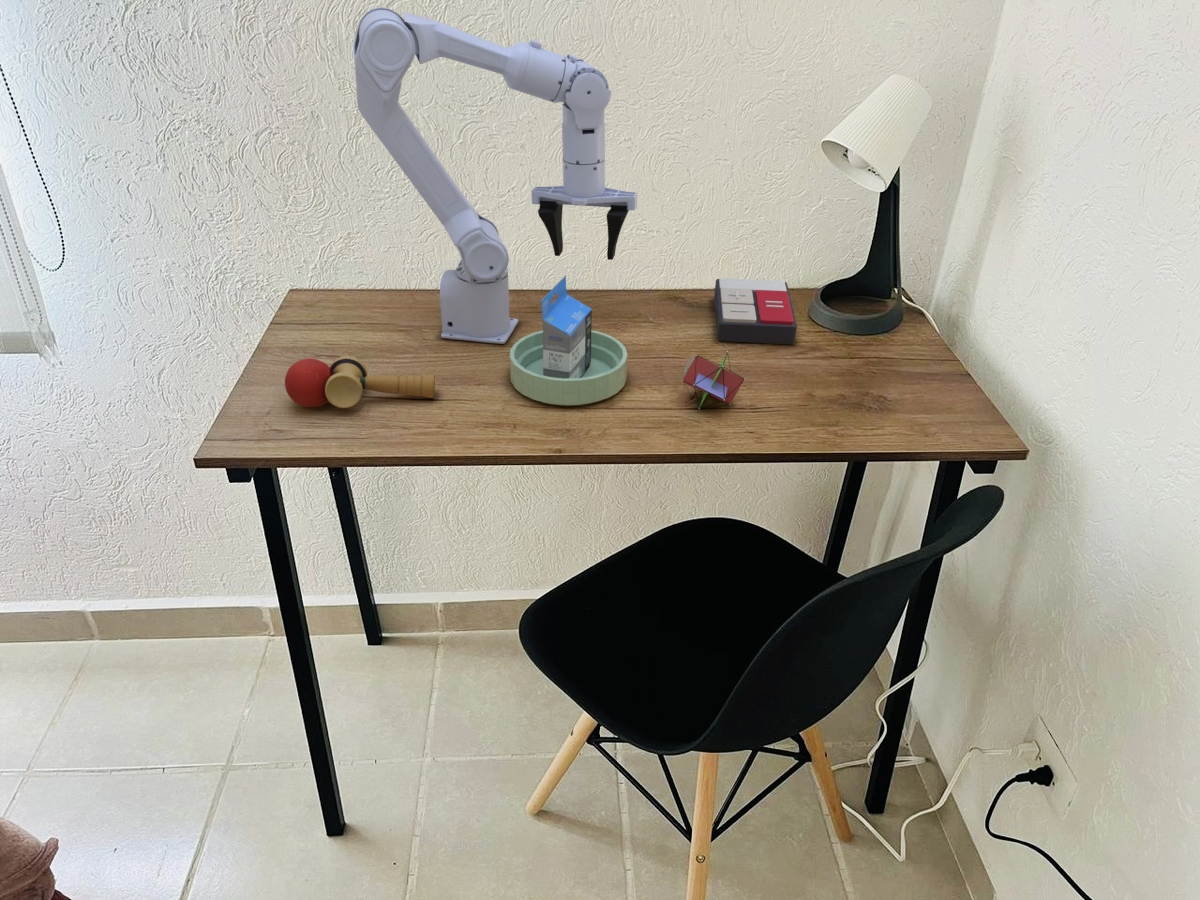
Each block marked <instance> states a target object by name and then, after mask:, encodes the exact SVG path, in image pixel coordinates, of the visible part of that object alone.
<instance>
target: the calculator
mask: <svg viewBox="0 0 1200 900" xmlns="http://www.w3.org/2000/svg"><path fill="white" fill-rule="evenodd" d="M713 295H714V296H713V297H714V298H713V304H714V310H715V322H716V324H715V325H716V334H717V335H716V336H717V341H718V342H730V343H750V344H751V343H752V344H772V345H775V344H776V345H794V344H795V343H796V342H795V341H796V335H797V329H798V325H797V324H798V323H797V320H796V316H795V312H794V307H793V303H792V299H791V294H790V290H789V286H788V282H787V281H785V280H776V279H758V278H757V279H754V278H732V277H731V278H729V277H720V278H716V280H715V285H714V294H713Z"/></svg>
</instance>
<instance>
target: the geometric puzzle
mask: <svg viewBox="0 0 1200 900" xmlns="http://www.w3.org/2000/svg"><path fill="white" fill-rule="evenodd" d="M713 354H715V353H712V355H713ZM703 355H704V356H705V355H706V354H702V356H703ZM722 355H724V357H723V359H722V361H721V362H720V364H719V363H717V362H714V361H713V360H711V359H713V358H715V357H719V356H722ZM702 356H701V355H699V354H695V355H694V356H693V357H691V358H690V359H689V360H688V361H687V363H686V364H685V366H684V370H683V375H682V380H681V382H682V383H683V384H684V386H686V385H688V386H690V387H691V388H693V389H694V391H695V396H696V401H697V404H696V406H697V407H698V410H701V409H703V408H704V409H706V408H707V409H708V407H709V406H711V405H714V404H718V403H720V402H722V403H724V404H725V405H728V406H731V404H732V402H733V400H734V398H735V397H736V396H737V393H738V392H739V390H740V388H741V386H742V385H743V383H744V381H745V380H746V378H745V377H744V376H742V375H741V376H740V375H739V374H737V373H735V372H734V371H732V370H731V368H729V369H728V368H727V367H725V363H726V359H727V360H728V361H730V358H731V360H733V358H732V357H731V355H730V354H729V351H728V350H727V351H725V352H721V353H719V354H718V355H716V356H712V357H710V358H704V357H702ZM729 357H730V358H729ZM728 365H729V367H731V364H730V362H728ZM735 366H736V368H737V370H738V371H740V370H739V368H738V366H737V365H735ZM685 384H686V385H685ZM686 389H687V391H688V393H689V394H691V393H690V391H689V389H688V388H686ZM697 391H699V392H701V393H702V398H701V401H700V403H699V398H698V395H697ZM707 396H709V397H711V398H713V399H715V400H718V401H717V402H713V403H710V404H708V405H705V406H702V405H703V402H704V401H705V399H706V397H707ZM691 398H692V399H694V398H693V396H691ZM724 404H722V405H721V404H720V407H721V406H722V407H723V406H724ZM712 407H713V408H714V407H715V408H716V405H715V406H712Z"/></svg>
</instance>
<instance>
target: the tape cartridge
mask: <svg viewBox="0 0 1200 900" xmlns="http://www.w3.org/2000/svg"><path fill="white" fill-rule="evenodd" d="M555 296H557V297H556V299H554V298H555ZM553 299H554V301H553V302H552V300H553ZM551 302H552V303H551ZM540 304H541V305H540V306H541V316H542V317H541V318H542V330H543V375H544V376H548V377H555V378H581V377H582V376H583V375H584V373H585V372H586V371H587V369H588V368H589V367H590V365H591V330H592V328H593V327H592V325H593V324H592V322H593V321H592V318H593V315H592V314H593V309H592V308H591V307H590V306H588V305H587V304H584V303H582V302H581V301H580V300H577V299H576V298H574V297H573V296H571V295H570V294H568V292H567V276H566V275H564V276H563V278H561V279H560V281H558V282H557V284H556V285H554V286H553V287H552V288H551V289H550V290H549V291H548V293H547V294H546V295H544V297H542V299H541V300H540Z"/></svg>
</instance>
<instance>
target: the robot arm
mask: <svg viewBox="0 0 1200 900" xmlns="http://www.w3.org/2000/svg"><path fill="white" fill-rule="evenodd" d="M402 16H403V17H402ZM357 26H358V27H357V30H356V33H355V37H354V40H353V45H352V48H353V61H354V76H355V77H354V78H355V93H356V103H357V109H358V111H359V113H360V115H361V116H362V118H363V119H364V120H365V122H366V123H367V125H368V126H369V128H370V129H371V130H372V131H373V133H374V134H375V135H376V137H377V138H378V139H379V141H380V142H381V143H382V145H383V146H384V147H385V149H386V150H387V152H388V153H389V154H390V156H391V157H392V158H393V160H394V161H395V163H396V164H397V165H398V166H399V168H400V170H401V171H402V172H403V174H404V175H405V176H406V177H407V179H408V180H409V182H410V183H411V184H412V185H413V187H414V188H415V189H416V191H417V192H418V194H419V195H420V197H422V198H423V200H424V202H425V203H426V204H427V206H428V207H429V208H430V210H431V211H432V213H433V214H434V215H435V216H436V218H437V219H438V221H439V222H440V223H441V225H442V226H443V227H444V229H445V231H446V234H447V235H448V236H449V237H450V239H451V241H452V243H453V245H454V246H455V247H456V249H457V251H458V253H459V255H460V261H459V263H458V265H457V267H456V269H455V268H454V269H446V270H444V272H443V274H442V276H441V279H440V283H439V305H440V318H441V329H442V332H441V333H440V337H441V338H442V339H446V340H447V339H449V340H458V341H466V342H467V341H469V342H479V343H488V344H497V345H504V344H506V342H507V341H508V339H509V338H510V337H511V334H512V333H513V331H514V330H515V328H516V327H517V325H518V323H519V319H518V318H513V317H511V315H510V314H511V313H510V288H509V287H510V286H509V268H508V266H509V261H510V258H509V257H510V256H509V255H510V254H509V252H508V249H507V247H506V246H505V244H504V243H503V241H502V239H501V237H500V234H499V230H498V228H497V226H496V225H495V223H494V222H492V221H491V220H490V219H488V218H487V217H484V216H482V215H481V214H480V213H479V212H478V211H477V210H476V208H475V207H474V206H473V204H472V203H471V202H470V201H469V200H468V199H467V197H466V196H465V195H464V193H463V192H462V191H461V189H460V187H459V186H458V185H457V183H456V182H455V181H454V179H453V178H452V177H451V174H449V173H448V170H447V169H446V168H445V166H444V165H443V164H442V162H441V161H440V158H438V157H437V155H436V153H435V152H434V151H433V149H432V148H431V147H430V145H429V144H428V142H427V141H426V140H425V138H424V137H423V135H422V134H421V133H420V131H419V130H418V128H417V127H416V125H415V124H414V122H413V121H412V120H411V118H410V117H409V116H408V114H407V113H406V111H405V110H404V109H403V106H401V105H400V102H399V99H400V94H401V88H402V83H403V79H404V77H405V76H406V74H407V73H408V71H409V69H410V67H411V65H412V63H413V61H414V59H415V56H416V59H417V61H418V64H419V65H423V64H425V63H428V62H431V61H433V60H436V59H438V58H446V59H448V60H452V61H454V62H458V63H462V64H466V65H469V66H472V67H475V68H479V69H483V70H487V71H490V72H493V73H496V74H499V75H502V78H503V80H504V82H505V84H506V86H507V87H508V88H509V89H511V90H514V91H516V92H519V93H523V94H526V95H529V96H532V97H535V98H537V99H542V100H544V101H547V102H551V103H553V104H557V103H562V123H561V143H562V182H563V183H562V185H555V186H554V185H553V186H551V185H550V186H537V185H536V186H534V187H533V188H532V189H531V204H532V205H539V206H538V207H539V208H538V209H537V212H538V213H537V214H538V217H539V218H540V220H541V222H542V223H543V225H544V227H545V229H546V231H547V233H548V236H549V238H550V241H551V245H552V249H553V253H554V256H555V257H560V256H561V255H562V253H563V251H564V240H563V207H564V206H565V205H567V206H582V207H597V208H609V210H608V211H607V213H606V224H607V248H606V249H607V251H606V254H607V255H606V256H607V257H606V258H607V260H609V261H613V260H614V259H615V256H616V248H617V244H618V239H619V236H620V233H621V230H622V228H623V226H624V223H625V220H626V217H627V215H628V213H629V212H630V211H636V209H637V207H638V192H636V191H626V190H621V189H614V188H609V187H606V123H605V109H606V108H607V106H608V105H609V104H610V100H611V96H612V90H610V88H609V83H608V80H607V78H606V77H605V75H604V74H603V73H602V72H601V71H600V70H599V69H598V68H596V67H595V66H593V65H592V64H591V63H589V62H586V61H585V60H584V59H582V58H578V57H577V56H576V55H574V54H571V53H567V55H566V56H565V55H563V54H560V53H557V52H554V51H551V50H548V49H545V48H542V46H543V44H542V43H541V42H540V41H538V40H535V39H533V38H532V39H529V43H528V42H526V41H522V40H520V41H518V42H516V43H515V44H512V45H511V46H508V47H506V46H504V45H502V44H498V43H495V42H493V41H490V40H488V39H485V38H482V37H480V36H477V35H475V34H472V33H469V32H467V31H465V30H462V29H459V28H456V27H454V26H451V25H449V24H446V23H443V22H441V21H439V20H435V19H432V18H428V17H424V16H420V15H417V14H414V13H410V12H409V13H408V12H402V15H400V14H399V13H398V12H397V11H395V10H394V9H391V8H388V7H375V8H372V9H369V10H368V11H366V13H364V15H362V16H361V19H360V20H359V22H358V25H357Z"/></svg>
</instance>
